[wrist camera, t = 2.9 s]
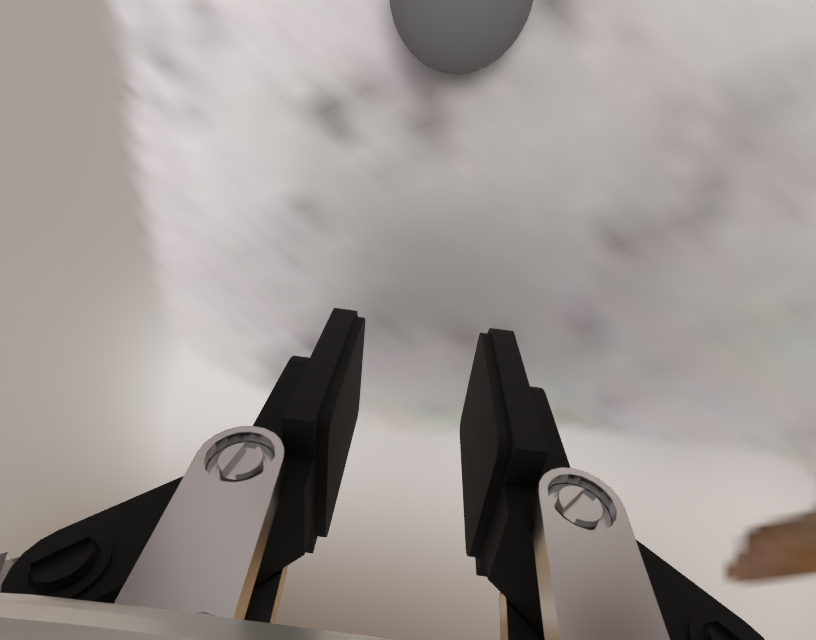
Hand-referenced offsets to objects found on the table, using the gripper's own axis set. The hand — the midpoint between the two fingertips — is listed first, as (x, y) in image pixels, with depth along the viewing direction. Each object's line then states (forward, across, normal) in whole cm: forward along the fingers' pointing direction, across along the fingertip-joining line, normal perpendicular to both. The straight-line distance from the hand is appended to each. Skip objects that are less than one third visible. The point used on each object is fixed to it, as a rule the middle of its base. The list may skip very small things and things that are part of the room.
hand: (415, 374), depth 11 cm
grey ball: (+12, 0, -10) cm, 16 cm away
